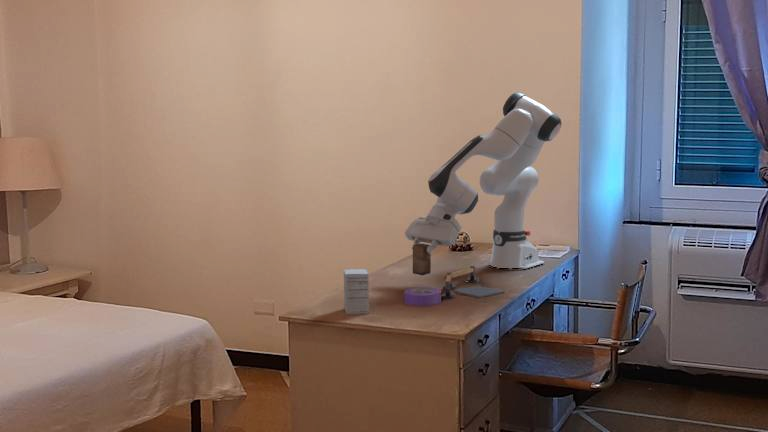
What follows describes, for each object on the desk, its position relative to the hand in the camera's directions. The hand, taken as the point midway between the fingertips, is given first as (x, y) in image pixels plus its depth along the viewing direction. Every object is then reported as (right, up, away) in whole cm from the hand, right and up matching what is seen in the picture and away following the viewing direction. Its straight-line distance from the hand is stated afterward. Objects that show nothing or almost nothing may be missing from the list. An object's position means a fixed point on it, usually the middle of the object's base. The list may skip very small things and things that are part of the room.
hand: (420, 251), depth 313 cm
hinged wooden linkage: (+12, -13, -2) cm, 18 cm away
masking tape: (0, -16, -20) cm, 26 cm away
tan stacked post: (0, -8, +2) cm, 8 cm away
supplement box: (-21, -18, -32) cm, 42 cm away
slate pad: (+19, -14, -8) cm, 25 cm away
